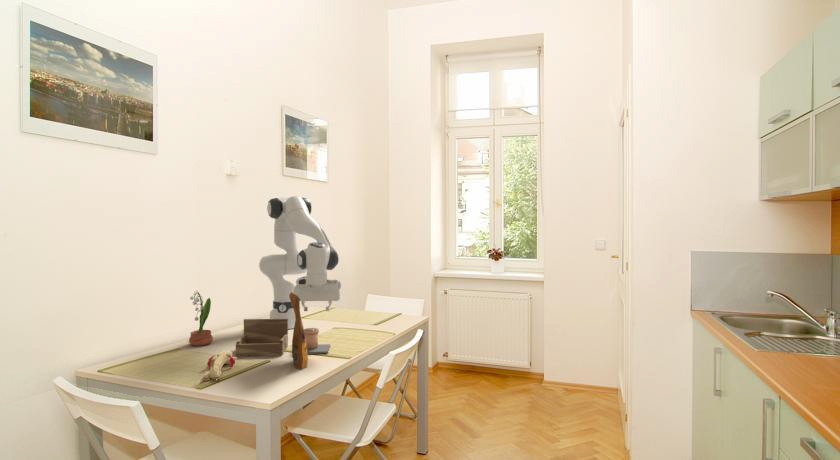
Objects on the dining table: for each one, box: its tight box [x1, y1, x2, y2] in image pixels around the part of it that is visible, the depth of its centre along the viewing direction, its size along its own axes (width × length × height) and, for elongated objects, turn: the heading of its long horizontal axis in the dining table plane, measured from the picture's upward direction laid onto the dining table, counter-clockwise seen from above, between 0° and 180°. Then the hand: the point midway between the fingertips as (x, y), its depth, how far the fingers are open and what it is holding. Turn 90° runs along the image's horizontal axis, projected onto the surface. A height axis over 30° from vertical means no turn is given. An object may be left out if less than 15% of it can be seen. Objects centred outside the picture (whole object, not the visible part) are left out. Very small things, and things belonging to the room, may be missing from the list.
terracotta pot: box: [304, 327, 320, 350], centre depth 207 cm, size 7×7×8 cm
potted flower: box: [188, 290, 214, 347], centre depth 214 cm, size 12×10×25 cm
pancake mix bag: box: [289, 292, 309, 370], centre depth 187 cm, size 7×19×28 cm, turn 17°
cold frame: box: [235, 318, 289, 358], centre depth 204 cm, size 14×19×13 cm
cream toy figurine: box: [202, 350, 238, 382], centre depth 178 cm, size 10×9×25 cm
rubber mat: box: [307, 343, 331, 355], centre depth 207 cm, size 12×11×1 cm
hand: (316, 311), depth 207 cm, fingers open, 8 cm apart
